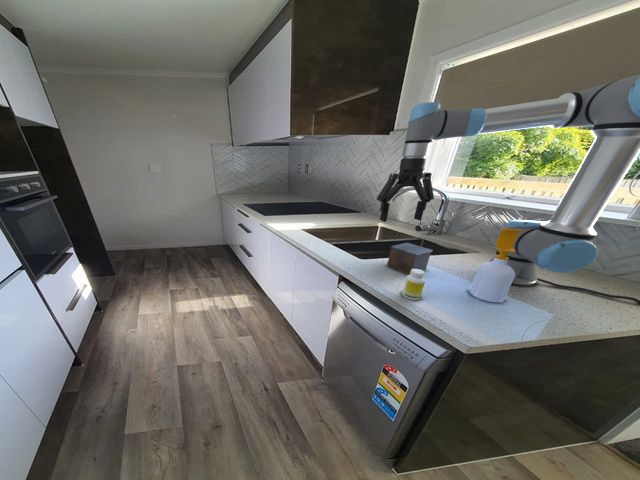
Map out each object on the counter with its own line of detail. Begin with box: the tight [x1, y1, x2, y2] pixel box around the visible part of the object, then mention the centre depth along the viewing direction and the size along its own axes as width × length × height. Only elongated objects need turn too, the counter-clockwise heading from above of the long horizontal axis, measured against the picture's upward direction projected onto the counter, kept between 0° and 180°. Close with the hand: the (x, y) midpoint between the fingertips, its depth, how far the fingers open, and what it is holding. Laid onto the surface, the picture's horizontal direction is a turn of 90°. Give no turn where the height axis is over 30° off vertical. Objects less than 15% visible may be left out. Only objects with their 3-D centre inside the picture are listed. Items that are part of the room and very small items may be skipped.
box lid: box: [390, 242, 434, 256], centre depth 102 cm, size 11×11×1 cm
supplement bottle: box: [402, 269, 426, 301], centre depth 83 cm, size 5×5×10 cm
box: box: [386, 247, 432, 276], centre depth 104 cm, size 11×11×9 cm
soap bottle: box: [469, 227, 524, 303], centre depth 80 cm, size 9×9×25 cm
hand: (400, 220), depth 88 cm, fingers open, 13 cm apart
